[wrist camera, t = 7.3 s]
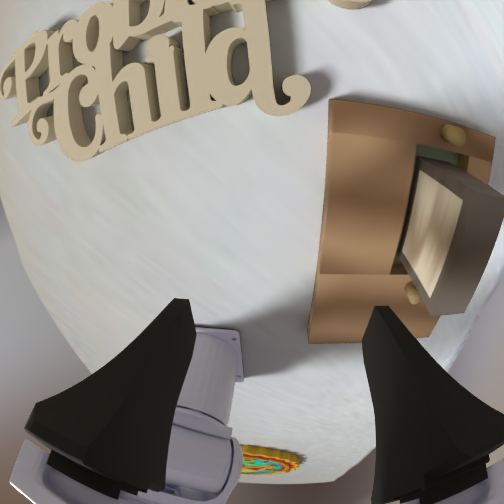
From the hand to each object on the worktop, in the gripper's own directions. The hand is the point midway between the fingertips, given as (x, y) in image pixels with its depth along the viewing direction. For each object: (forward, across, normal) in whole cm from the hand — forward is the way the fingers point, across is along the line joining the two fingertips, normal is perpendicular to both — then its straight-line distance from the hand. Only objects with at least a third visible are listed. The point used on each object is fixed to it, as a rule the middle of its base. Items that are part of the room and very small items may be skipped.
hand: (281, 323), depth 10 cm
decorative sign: (+11, +9, -12) cm, 19 cm away
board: (+10, -9, +2) cm, 14 cm away
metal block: (+10, -11, -1) cm, 15 cm away
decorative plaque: (+11, +6, +66) cm, 67 cm away
